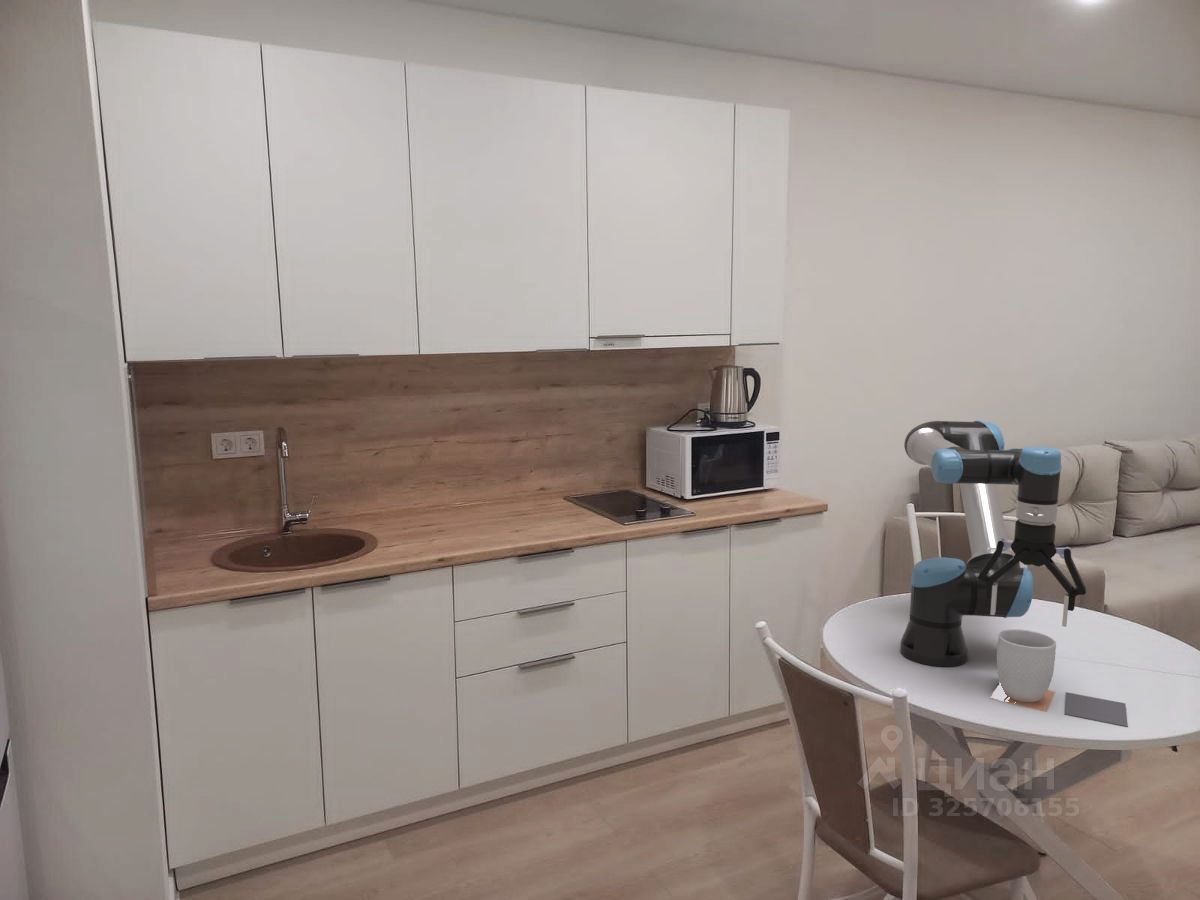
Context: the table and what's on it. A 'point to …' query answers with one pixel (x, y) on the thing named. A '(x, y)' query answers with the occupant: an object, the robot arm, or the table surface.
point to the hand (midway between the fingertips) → (1027, 618)
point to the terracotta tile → (1039, 705)
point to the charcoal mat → (1096, 709)
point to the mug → (1025, 664)
